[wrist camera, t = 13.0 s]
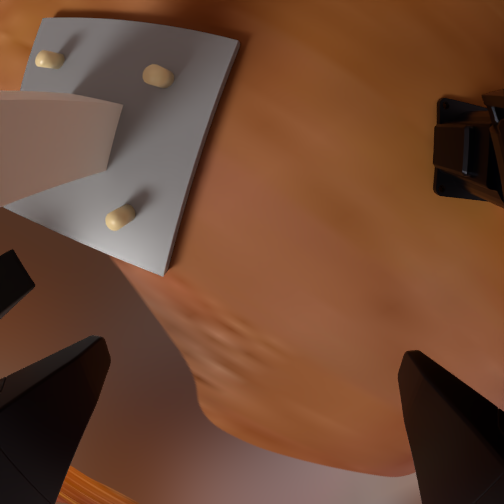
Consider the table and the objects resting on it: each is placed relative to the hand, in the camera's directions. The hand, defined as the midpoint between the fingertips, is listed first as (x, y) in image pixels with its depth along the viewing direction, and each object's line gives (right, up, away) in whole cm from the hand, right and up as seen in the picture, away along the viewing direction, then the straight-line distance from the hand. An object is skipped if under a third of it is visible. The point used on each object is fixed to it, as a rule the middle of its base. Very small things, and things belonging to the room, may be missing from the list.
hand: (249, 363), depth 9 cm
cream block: (-11, +11, +10) cm, 18 cm away
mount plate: (-11, +11, +11) cm, 19 cm away
